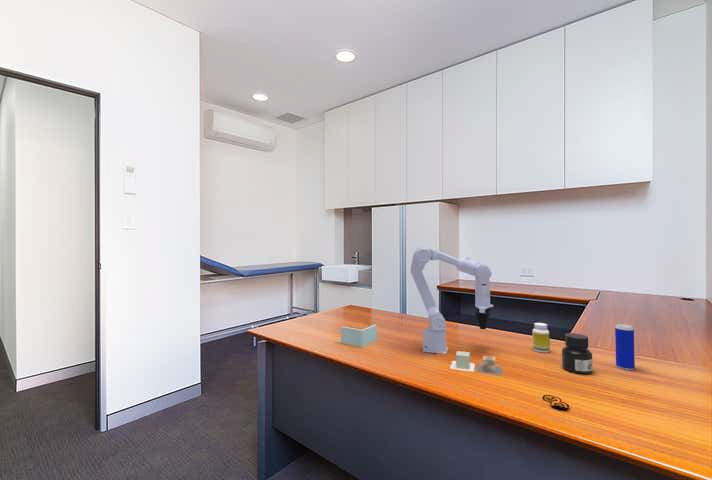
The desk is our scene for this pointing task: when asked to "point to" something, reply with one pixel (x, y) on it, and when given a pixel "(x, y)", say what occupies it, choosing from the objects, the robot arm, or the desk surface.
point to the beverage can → (624, 346)
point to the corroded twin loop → (558, 407)
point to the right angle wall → (359, 336)
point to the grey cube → (489, 363)
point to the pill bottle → (541, 338)
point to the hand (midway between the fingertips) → (483, 326)
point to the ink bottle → (577, 354)
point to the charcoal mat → (480, 370)
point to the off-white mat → (472, 365)
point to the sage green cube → (463, 360)
